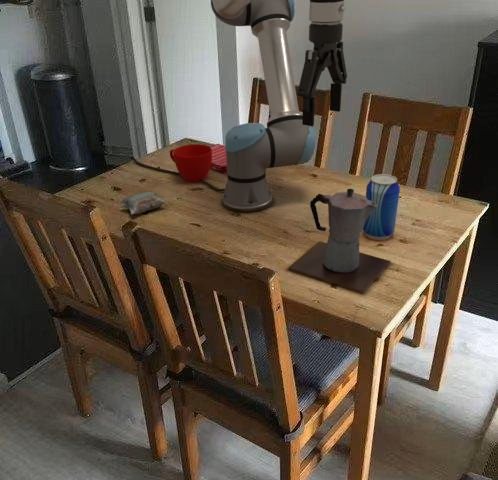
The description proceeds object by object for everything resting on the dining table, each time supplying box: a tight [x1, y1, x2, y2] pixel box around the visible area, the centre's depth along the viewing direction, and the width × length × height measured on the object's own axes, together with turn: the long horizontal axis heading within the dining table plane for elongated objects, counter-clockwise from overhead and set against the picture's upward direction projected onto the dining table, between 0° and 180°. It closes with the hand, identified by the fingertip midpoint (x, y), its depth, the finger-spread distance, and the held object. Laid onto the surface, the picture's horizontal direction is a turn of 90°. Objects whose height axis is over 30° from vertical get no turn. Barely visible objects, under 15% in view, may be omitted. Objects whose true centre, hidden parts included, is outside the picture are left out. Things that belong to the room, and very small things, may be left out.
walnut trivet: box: [287, 241, 391, 295], centre depth 134 cm, size 20×16×1 cm
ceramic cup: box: [169, 143, 212, 183], centre depth 185 cm, size 13×17×10 cm
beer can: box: [362, 173, 401, 241], centre depth 143 cm, size 8×8×16 cm
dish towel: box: [209, 143, 227, 174], centre depth 200 cm, size 17×24×3 cm
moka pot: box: [309, 188, 377, 273], centre depth 128 cm, size 10×15×20 cm, turn 78°
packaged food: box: [119, 190, 168, 216], centre depth 165 cm, size 9×12×5 cm
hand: (321, 117), depth 133 cm, fingers open, 13 cm apart
